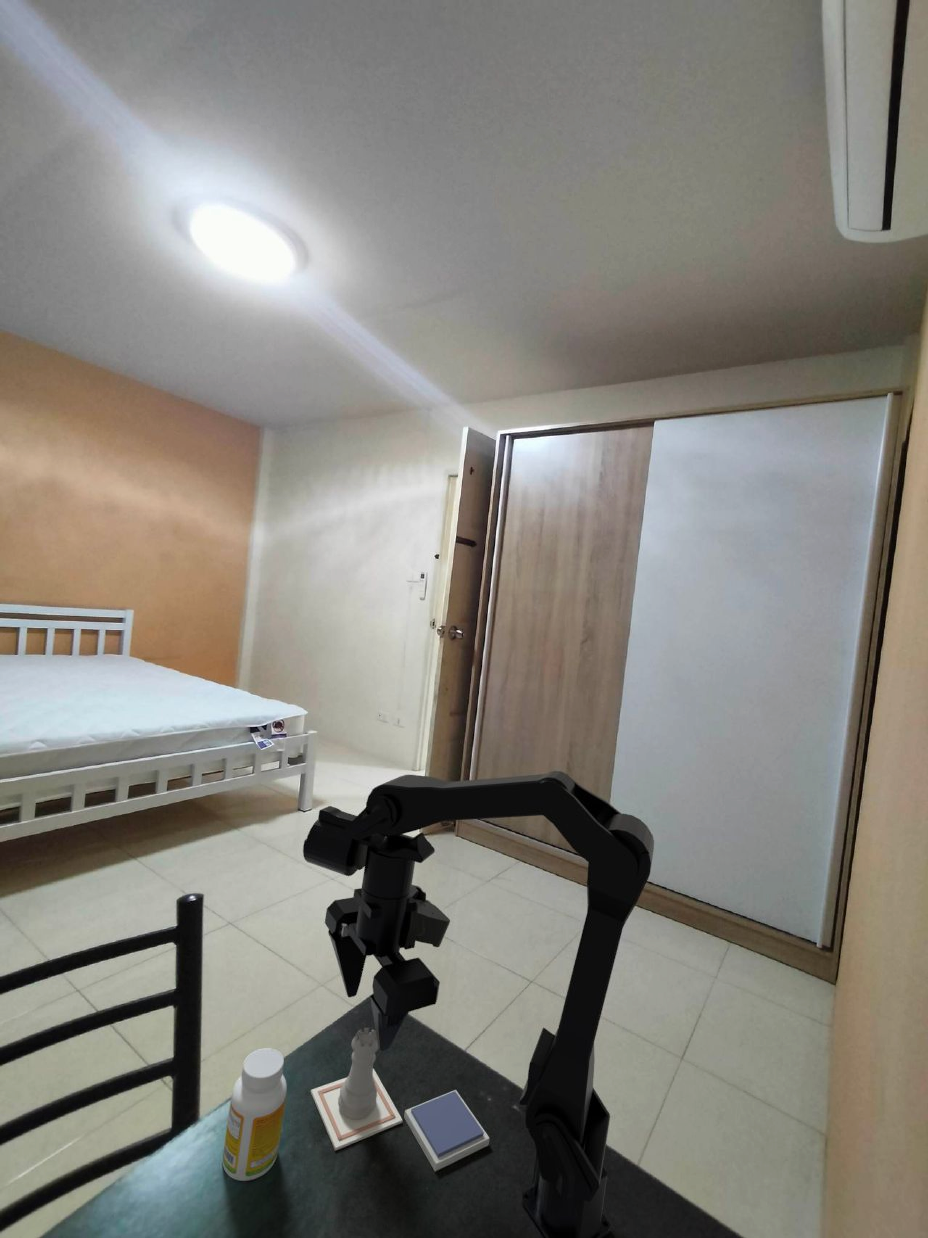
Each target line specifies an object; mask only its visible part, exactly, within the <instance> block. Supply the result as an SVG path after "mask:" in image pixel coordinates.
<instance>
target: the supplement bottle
mask: <svg viewBox="0 0 928 1238" xmlns="http://www.w3.org/2000/svg"><path fill="white" fill-rule="evenodd" d="M284 1063H285V1060H284V1056H283V1054H282V1053H281V1052H280V1051H279V1050H276V1049H274V1048H270V1047H263V1048H259V1049H256V1050H254V1051H252V1052H251V1053H249V1054H248V1055H247V1056H246V1058H245V1059H244V1061H243V1064H242V1071H241V1076H240V1077H239V1078H237V1080H236V1082H234V1083H235V1084H234V1085H233V1088H232V1091H231V1096H230V1104H229V1110H228V1116H227V1118H228V1119H227V1124H226V1131H225V1137H224V1145H223V1150H222V1151H223V1152H222V1165H223V1169H224V1171H225V1173H226V1174H227V1176H229V1177H230V1178H232V1179H233V1180H236V1181H238V1182H239V1181H240V1182H247V1181H253V1180H255V1179H259V1178H261V1177H262V1176H263V1175H265V1174H266V1173H268V1172H269V1170H271V1168H272V1167H273V1165H274V1164H275V1162H276V1159H277V1157H278V1153H279V1148H280V1147H279V1146H280V1141H281V1133H282V1127H283V1118H284V1113H285V1105H286V1098H287V1097H286V1096H287V1089H288V1086H287V1080H286V1078H285V1075H284V1074H283V1072H284Z"/></svg>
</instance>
